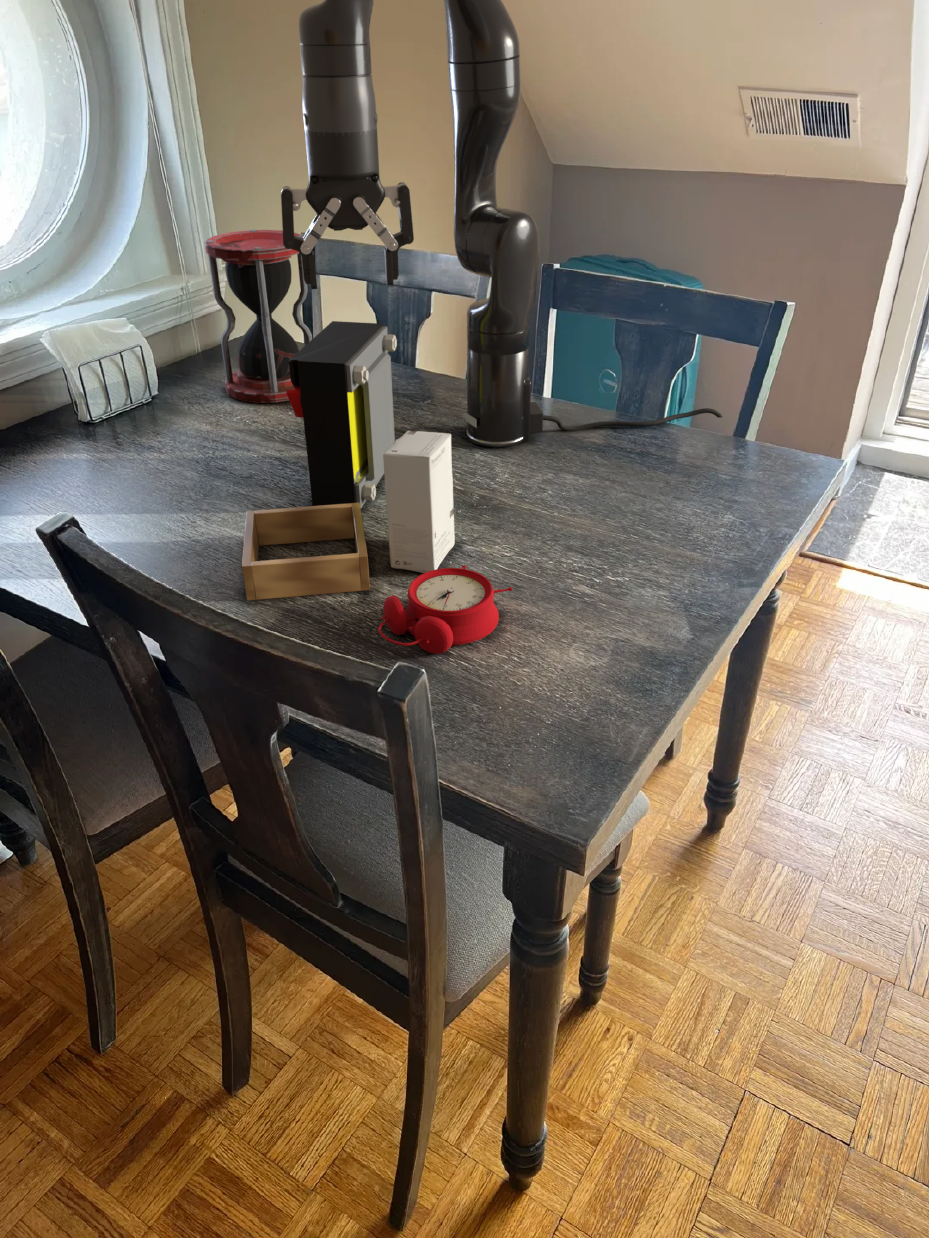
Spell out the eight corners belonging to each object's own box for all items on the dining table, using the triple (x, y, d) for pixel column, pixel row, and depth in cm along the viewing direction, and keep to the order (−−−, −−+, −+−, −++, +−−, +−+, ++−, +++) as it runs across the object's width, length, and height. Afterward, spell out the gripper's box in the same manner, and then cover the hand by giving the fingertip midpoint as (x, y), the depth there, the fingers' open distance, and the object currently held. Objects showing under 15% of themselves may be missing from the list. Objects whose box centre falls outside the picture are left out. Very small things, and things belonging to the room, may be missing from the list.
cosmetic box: (435, 576, 112) (431, 459, 104) (387, 568, 113) (380, 453, 105) (456, 543, 118) (454, 431, 110) (410, 537, 120) (406, 426, 112)
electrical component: (371, 512, 126) (361, 364, 115) (299, 506, 128) (282, 360, 117) (404, 460, 140) (398, 324, 129) (339, 455, 142) (327, 321, 131)
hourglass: (224, 377, 172) (203, 231, 158) (313, 370, 175) (299, 226, 162) (227, 407, 159) (204, 252, 145) (323, 399, 162) (309, 246, 148)
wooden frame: (361, 534, 121) (359, 502, 118) (370, 590, 109) (367, 556, 107) (250, 542, 119) (246, 510, 116) (247, 600, 107) (241, 566, 105)
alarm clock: (525, 586, 102) (430, 614, 92) (516, 638, 105) (421, 671, 94) (456, 554, 108) (359, 577, 98) (448, 604, 111) (352, 631, 100)
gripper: (405, 120, 102) (410, 275, 111) (271, 123, 100) (288, 280, 109) (412, 127, 96) (418, 291, 105) (270, 131, 94) (288, 297, 103)
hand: (351, 286), depth 107 cm, fingers open, 8 cm apart
